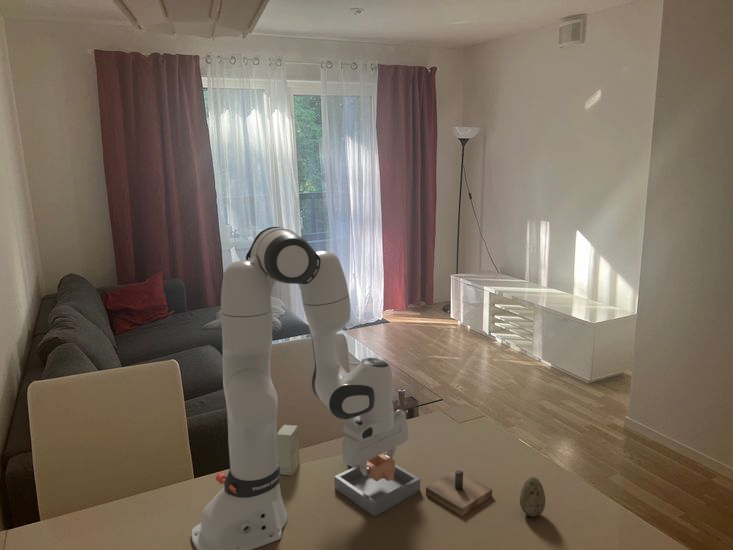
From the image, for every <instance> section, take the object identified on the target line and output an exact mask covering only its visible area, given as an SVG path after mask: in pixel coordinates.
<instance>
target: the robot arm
mask: <svg viewBox="0 0 733 550" xmlns="http://www.w3.org/2000/svg"><path fill="white" fill-rule="evenodd" d="M343 269H344V268H343V267H342V265H341V261H340V259H339V258H338V256H337V255H336V254H334V253H333V252H331V251H327V250H314V249H313V247H312V246H311V245H310V243H309V242H308V241H307V240H305V238H303V237H301V236H299V235H298V234H297V233H296V232H294V231H292V230H290V229H287V228H283V227H279V226H271V227H268V228H265V229H263V230H262V231H260V232H259V233H258V234H257V235H256V237H255V238H254V240H253V242H252V243H251V246H250V248H249V250H248V252H247V253H246V255H245V260H240V261H239V260H238V261H237V262H233V263H231V264H229V265H228V267H226V269H225V271H224V273H223V278H222V281H221V282H222V283H221V289H220V290H221V291H220V317H221V319H220V320H221V336H222V337H221V340H222V383H223V384H222V386H223V392H224V398H225V404H226V405H225V406H226V414H227V415H226V416H227V436H228V439H227V440H228V453H229V454H228V455H229V470H228V473H227V476H226V475H225V474H224V473H223V472H218V473H216V475H215V480H216V481H217V482H218V483H219V485H222V484H223V485H224V486H223V487H222V488H221V489H220V490H219V492H218V493H217V494H216V495H215V496H214V497H213V498H212V499H211V500H210V501H209V503H208V504H206V505H205V507H204V508H203V510H202V513H201V517H200V523H198V524H197V525H195V526H194V527H192V529H191V541H192V544H193V546H194V548H195V549H196V550H255V549H257V548H260V547H263V546H265V545H269V544H271V543H274V542H275V541H278V540H280V539H281V538H282V535H283V534H282V533H283V529H284V526H285V525H286V524H287V521H288V518H289V516H288V512H287V509H286V507H285V504H284V502H283V497H282V492H281V486H280V485H281V484H280V483H281V479H282V478H281V474H280V465H279V462H278V452H277V436H276V434H277V429H278V407H279V406H278V393H277V391H276V388H275V386H274V383H273V381H272V376H271V353H272V347H273V346H272V345H273V318H272V317H273V316H272V315H273V314H272V313H273V312H272V310H273V309H272V300H271V299H272V298H271V296H272V291H273V287H274V285H275V283H276V282H280V283H283V284H289V285H290V284H291V285H292V284H293V285H294V284H295V285H298V288H299V289H300V295H301V300H302V306H303V311H304V315H305V318H306V322H307V324H308V327H309V331H310V338H311V344H312V345H311V346H312V353H313V360H314V368H313V369H314V370H313V374H312V379H311V390H312V392H313V393H314V395H315V397H317V399H319V400H320V401H321V403H322V404H324V406H325V408H326V409H328V411H329V412H330V413H331V414H332V415H333V416H334V417H336V418H338V419H340V420H347V422H346V423H344V425H343V428H342V431H343V432H344V434H345V435H344V436H343V439H342V459H343V462H344V463H345V464H346V465H347V466H348V465H349V466H351V467H356V466H358V465H360V467H361V472H362V474H363V475H364V476H366V475H368V474H370V468H369V467H367V466H366V464H367V461H368V460H370V459H372V458H374V457H376V456H378V455H380V454H384V453H386V455H385V456H387V457H389V458H390V459H392V460H394V456H395V453H396V452H397V451H396V450H397V447H398V446H401V445H402V444H405V443H406V442H407V441H408V440H409V429H408V423H407V421H408V420H407V413H406V411H405V410H404V409H401V408H400V409H399V408H398V409H397V410H395V411H394V404H393V396H394V379H393V371H392V369H391V366H390V364H389V363H388V362H386V361H384V360H383V359H379V358H376V357H366V358H365V357H364V358H363V359H361V361H360V362H359V363H358V365H357V366H355V368H353V369H352V370H350V372H347V371H346V369H345V368H344V366H342V364H341V361H340V357H339V349H338V341H337V333H338V332H340V331H341V330H343V329H344V328H345V327H346V326H347V325H348V324H349V321H350V319H351V299H350V293H349V288H348V284H347V280H346V276H345V272H344V270H343ZM349 466H348V467H349Z"/></svg>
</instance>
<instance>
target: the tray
mask: <svg viewBox="0 0 733 550" xmlns="http://www.w3.org/2000/svg"><path fill="white" fill-rule="evenodd" d="M334 489H335V490H337V491H338V492H339V491H340V492H339V493H341V494H342V495H344V497H346V496H347V499H349V500H350V499H351V501H352V502H353V503H355V504H356V505H357V504H358V506H359V507H360V508H362V509H363V510H364V511H366V512H368V513H369V514H370V515H372V516H373V518H374V517H375V516H376V517H377V516H379V515H381V514H383V513H385V512H386V511H388V510H390V509H391V508H393V507H395V506H396V505H398V504H400V503H401V502H403V501H406V500H407V499H409V498H410V497H413V495H415V494H417V493H419V492H420V491H421V478H420V477H418V476H416V475H415V474H413V473H411V472H409V471H408V470H406V469H404V468H403V467H401V466H399V465H397V464H396V463H395V472H394V479H392V480H390V481H387V480H386V479H384V478H382V479H380V480H378V481H377V482H376V481H375V480H373V479H372V478H370V477H369V476H367V475H366V476H364V475H363V474H362V472H361V471H360V465H358V466H356V467H353V468H351V469H349V468H348V469H347V470H345V471H343V472H341V473H338V474H337V475H335V476H334ZM376 517H375V518H376Z"/></svg>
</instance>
